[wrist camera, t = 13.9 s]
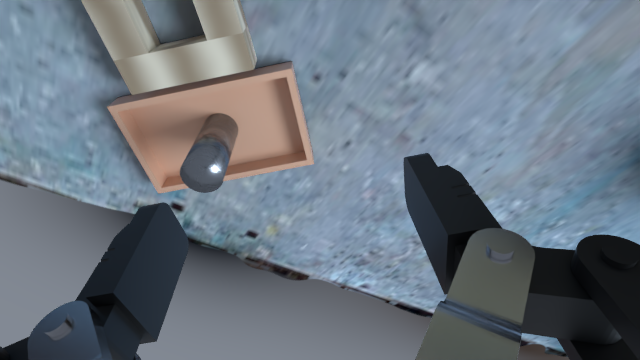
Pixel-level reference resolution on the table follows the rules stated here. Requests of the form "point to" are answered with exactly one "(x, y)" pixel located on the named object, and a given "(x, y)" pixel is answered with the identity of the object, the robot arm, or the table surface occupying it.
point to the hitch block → (173, 44)
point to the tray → (210, 98)
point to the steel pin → (210, 154)
